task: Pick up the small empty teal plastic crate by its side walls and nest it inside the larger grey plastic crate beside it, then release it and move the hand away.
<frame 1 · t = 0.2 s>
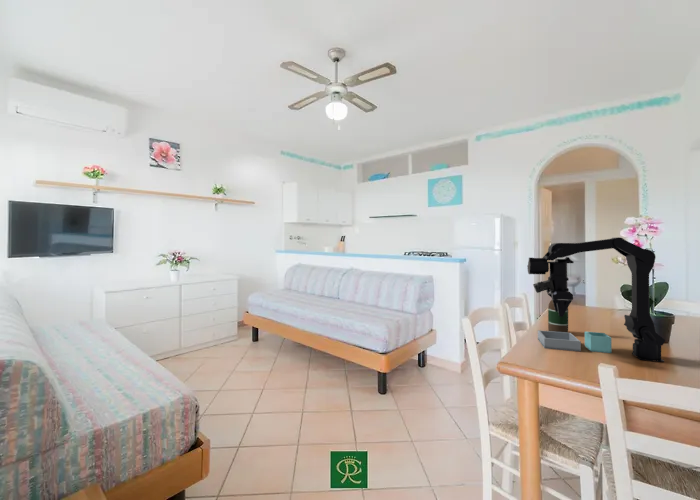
hand: (558, 313, 118), 14 cm above the table, tool pointing down, fingers open, 9 cm apart
beer bottle: (558, 333, 140), on the table
small crate: (597, 349, 117), on the table
big crate: (557, 345, 123), on the table
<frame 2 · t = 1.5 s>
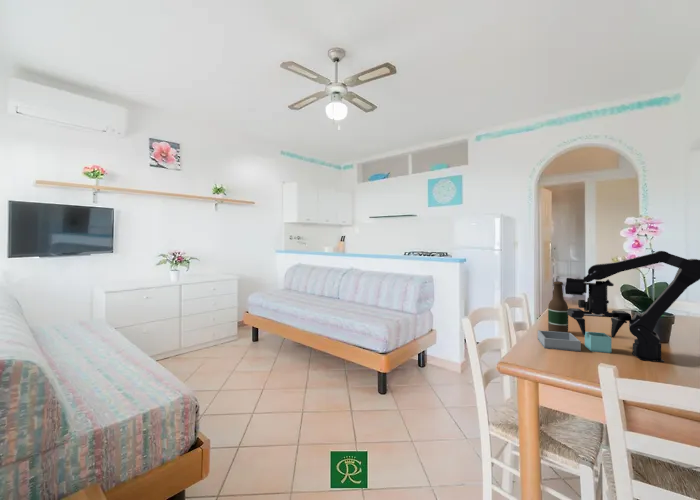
hand: (598, 336, 117), 5 cm above the table, tool pointing down, fingers open, 9 cm apart
nothing on the table moved.
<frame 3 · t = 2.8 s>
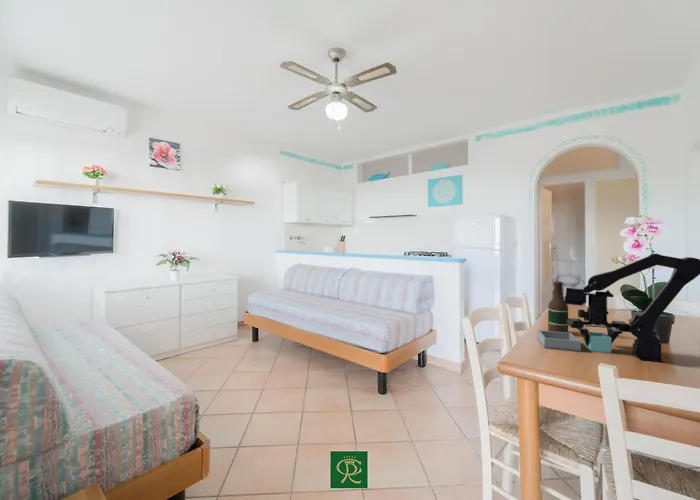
hand: (597, 346, 117), 1 cm above the table, tool pointing down, fingers closed on small crate, 6 cm apart
small crate: (597, 349, 117), on the table, touching gripper
everything else where it was.
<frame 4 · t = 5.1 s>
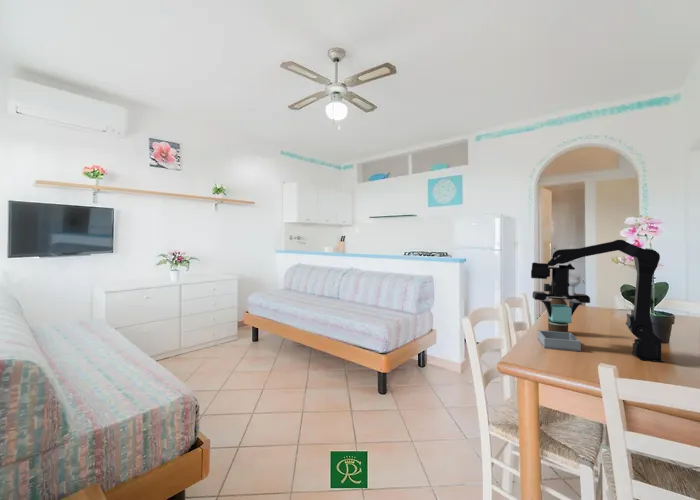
hand: (559, 317, 123), 11 cm above the table, tool pointing down, fingers closed on small crate, 6 cm apart
small crate: (559, 320, 123), point 10 cm above the table, touching gripper
everything else where it was.
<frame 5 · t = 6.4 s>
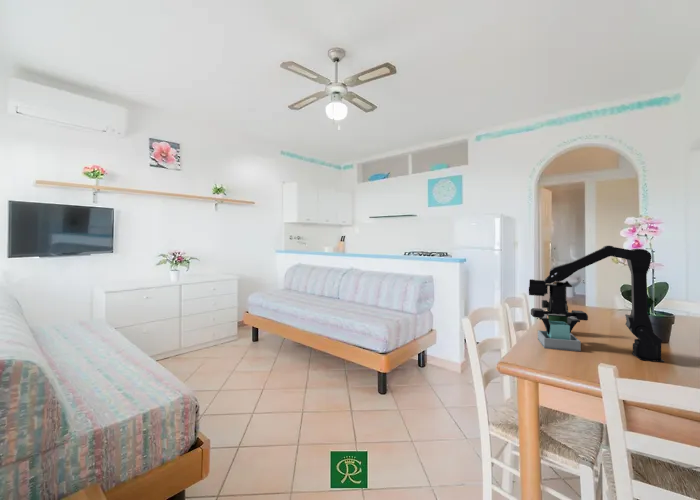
hand: (558, 334, 123), 4 cm above the table, tool pointing down, fingers closed on small crate, 6 cm apart
small crate: (558, 337, 123), point 3 cm above the table, touching gripper
everything else where it was.
when the fingers open (3 cm above the table, at t = 7.5 s): small crate drops 1 cm, resting on big crate.
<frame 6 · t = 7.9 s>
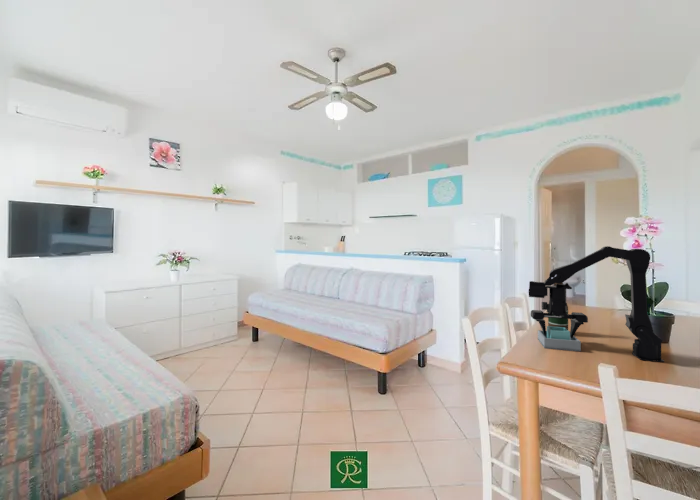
hand: (557, 336, 123), 3 cm above the table, tool pointing down, fingers open, 9 cm apart
small crate: (557, 343, 123), point 1 cm above the table, touching big crate
everything else where it was.
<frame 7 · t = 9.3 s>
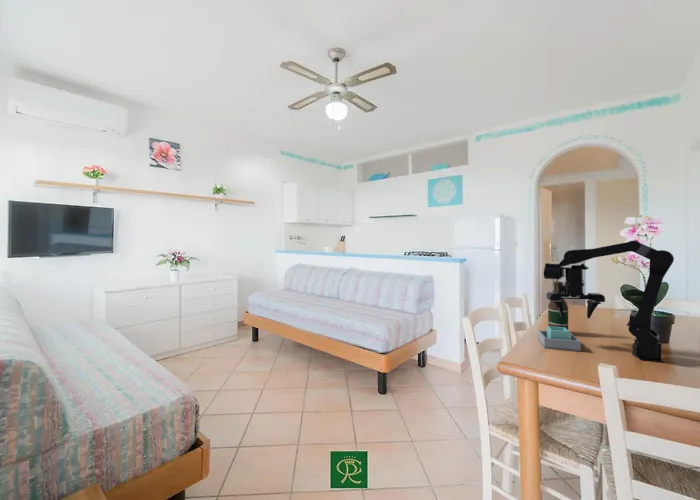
hand: (574, 317, 123), 11 cm above the table, tool pointing down, fingers open, 9 cm apart
nothing on the table moved.
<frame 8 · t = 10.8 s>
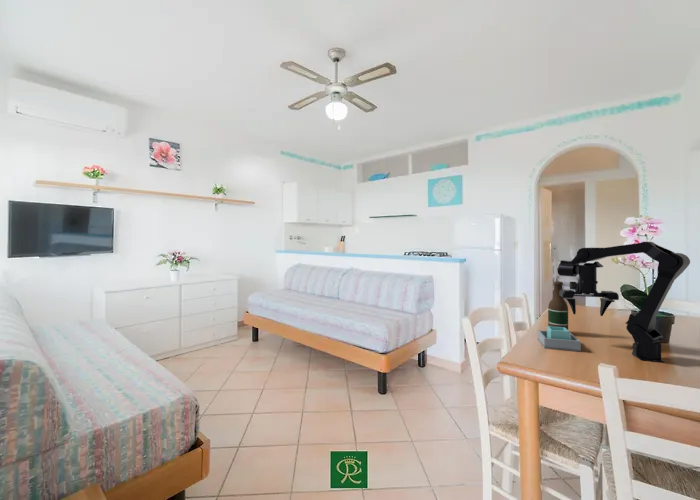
hand: (587, 315, 124), 12 cm above the table, tool pointing down, fingers open, 9 cm apart
nothing on the table moved.
at the end: small crate 0.0 cm off-centre on the big crate, point 0.8 cm above the big crate's base; small crate tilted 0°; the gripper is holding nothing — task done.
